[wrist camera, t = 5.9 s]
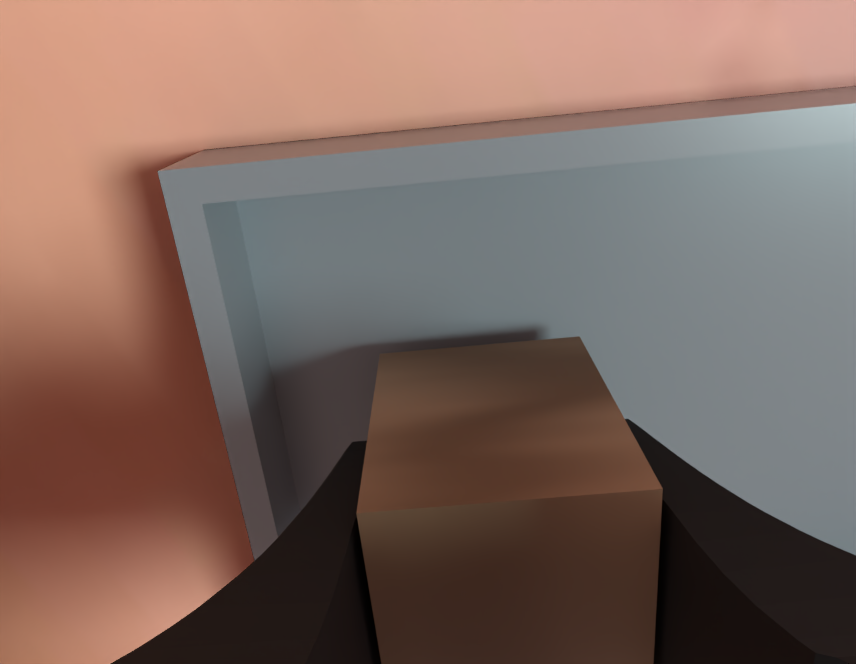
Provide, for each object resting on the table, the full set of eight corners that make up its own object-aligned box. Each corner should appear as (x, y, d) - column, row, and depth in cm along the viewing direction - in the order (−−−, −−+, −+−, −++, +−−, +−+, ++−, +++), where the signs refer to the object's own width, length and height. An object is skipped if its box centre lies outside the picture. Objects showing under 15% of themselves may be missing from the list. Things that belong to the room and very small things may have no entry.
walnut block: (579, 336, 13) (662, 488, 9) (580, 500, 15) (650, 704, 10) (380, 353, 13) (356, 512, 9) (401, 515, 15) (391, 723, 10)
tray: (1150, 57, 13) (1313, 58, 10) (995, 561, 17) (1083, 639, 15) (204, 149, 13) (157, 170, 11) (305, 613, 18) (288, 696, 16)
